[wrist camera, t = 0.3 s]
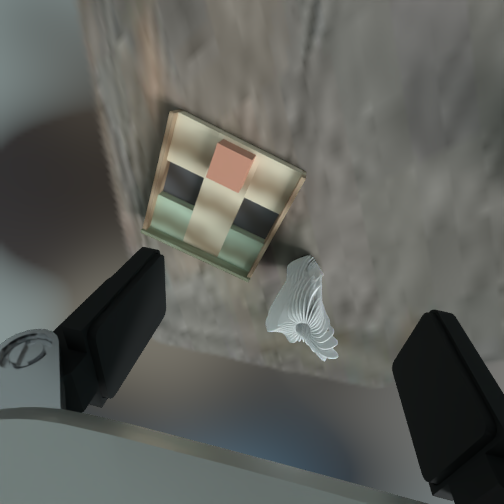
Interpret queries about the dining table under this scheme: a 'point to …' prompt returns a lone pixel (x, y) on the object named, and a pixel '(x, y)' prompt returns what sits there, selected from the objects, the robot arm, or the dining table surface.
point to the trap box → (216, 198)
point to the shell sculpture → (303, 309)
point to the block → (230, 165)
